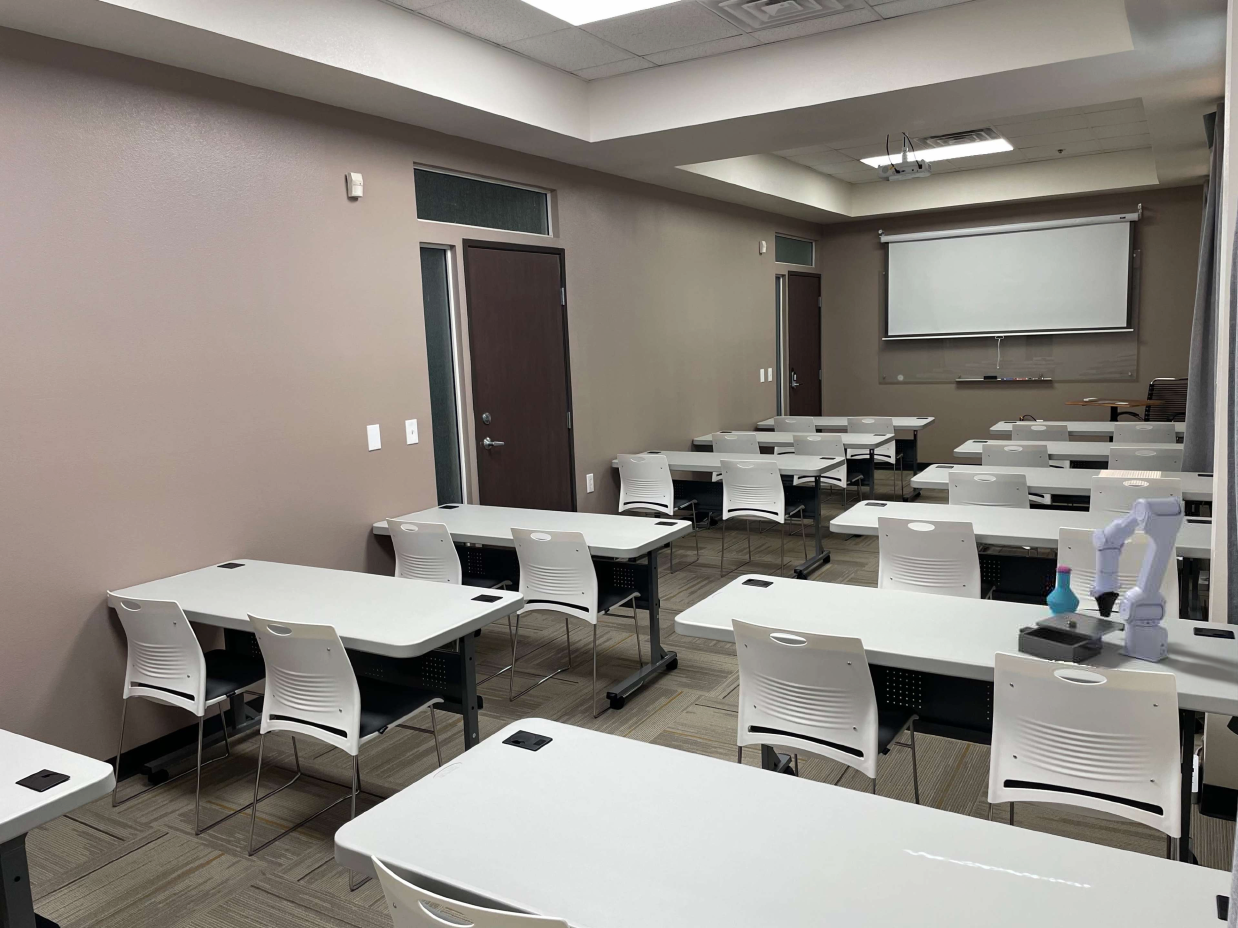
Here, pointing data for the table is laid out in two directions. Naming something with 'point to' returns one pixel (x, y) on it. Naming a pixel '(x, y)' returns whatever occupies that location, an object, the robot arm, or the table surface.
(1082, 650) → the dark grey box
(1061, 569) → the perfume bottle
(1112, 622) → the cooker lid
